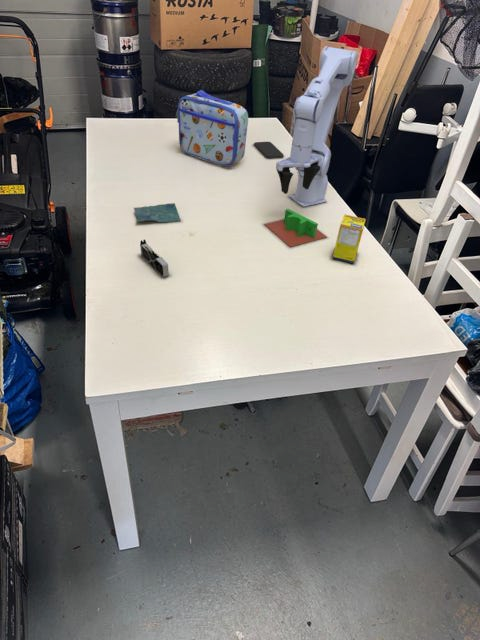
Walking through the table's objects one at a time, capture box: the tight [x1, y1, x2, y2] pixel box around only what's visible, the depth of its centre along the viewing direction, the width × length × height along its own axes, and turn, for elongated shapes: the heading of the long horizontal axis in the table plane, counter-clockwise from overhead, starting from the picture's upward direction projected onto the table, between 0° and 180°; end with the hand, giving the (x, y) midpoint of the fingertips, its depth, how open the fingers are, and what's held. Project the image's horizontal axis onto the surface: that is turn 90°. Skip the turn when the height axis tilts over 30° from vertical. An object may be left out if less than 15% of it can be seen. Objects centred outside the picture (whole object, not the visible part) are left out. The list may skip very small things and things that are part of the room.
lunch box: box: [175, 89, 249, 167], centre depth 165 cm, size 28×10×22 cm, turn 58°
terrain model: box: [133, 202, 181, 223], centre depth 136 cm, size 13×8×2 cm, turn 108°
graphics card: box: [139, 239, 170, 278], centre depth 116 cm, size 12×3×5 cm, turn 37°
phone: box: [253, 141, 285, 159], centre depth 181 cm, size 7×1×15 cm
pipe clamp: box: [283, 208, 318, 238], centre depth 134 cm, size 11×4×5 cm, turn 46°
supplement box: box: [332, 214, 367, 265], centre depth 124 cm, size 6×6×11 cm
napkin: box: [264, 219, 327, 248], centre depth 136 cm, size 13×14×1 cm
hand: (295, 190), depth 135 cm, fingers open, 7 cm apart
